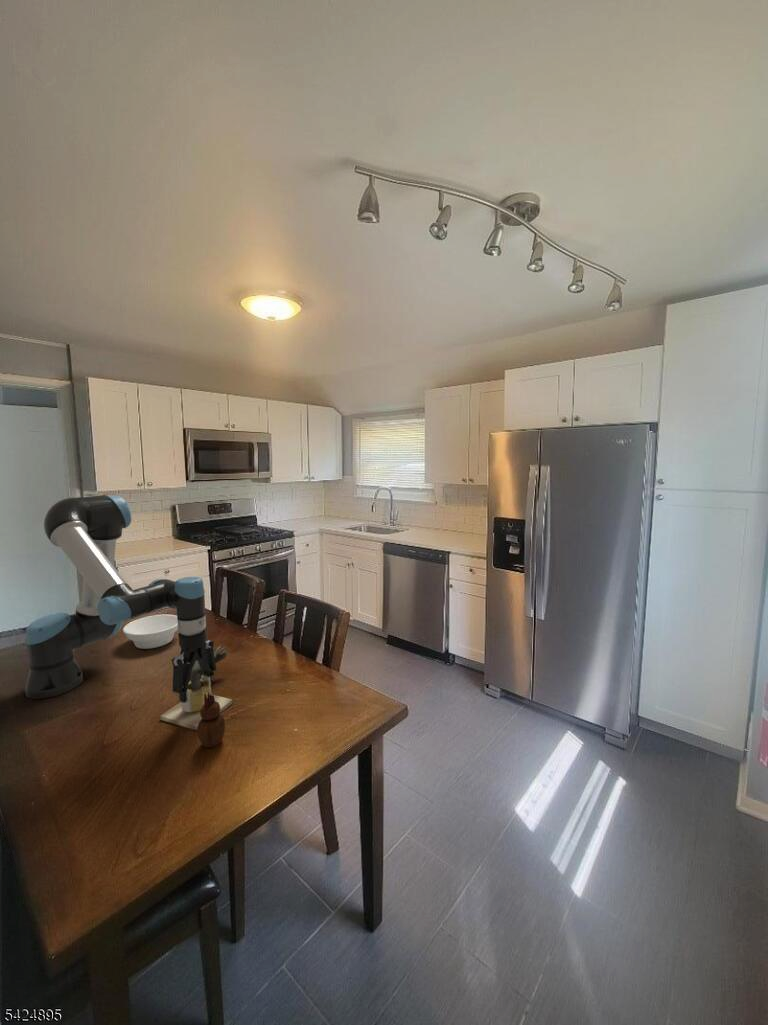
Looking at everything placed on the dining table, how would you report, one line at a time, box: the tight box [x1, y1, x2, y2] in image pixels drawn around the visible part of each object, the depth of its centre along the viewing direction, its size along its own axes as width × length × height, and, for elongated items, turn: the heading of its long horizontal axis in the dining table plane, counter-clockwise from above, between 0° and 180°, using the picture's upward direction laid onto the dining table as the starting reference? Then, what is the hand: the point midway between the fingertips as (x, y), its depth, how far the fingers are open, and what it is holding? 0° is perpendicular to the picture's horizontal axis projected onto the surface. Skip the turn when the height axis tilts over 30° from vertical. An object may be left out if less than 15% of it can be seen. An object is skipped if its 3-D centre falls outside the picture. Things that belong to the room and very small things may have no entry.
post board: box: [160, 672, 234, 731], centre depth 125 cm, size 14×14×12 cm
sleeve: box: [188, 679, 210, 712], centre depth 125 cm, size 7×7×6 cm
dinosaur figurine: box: [189, 643, 228, 684], centre depth 138 cm, size 22×8×11 cm, turn 167°
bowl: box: [122, 614, 178, 650], centre depth 172 cm, size 21×21×8 cm
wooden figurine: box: [196, 693, 226, 749], centre depth 111 cm, size 7×6×15 cm
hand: (197, 703), depth 126 cm, fingers closed on sleeve, 7 cm apart
